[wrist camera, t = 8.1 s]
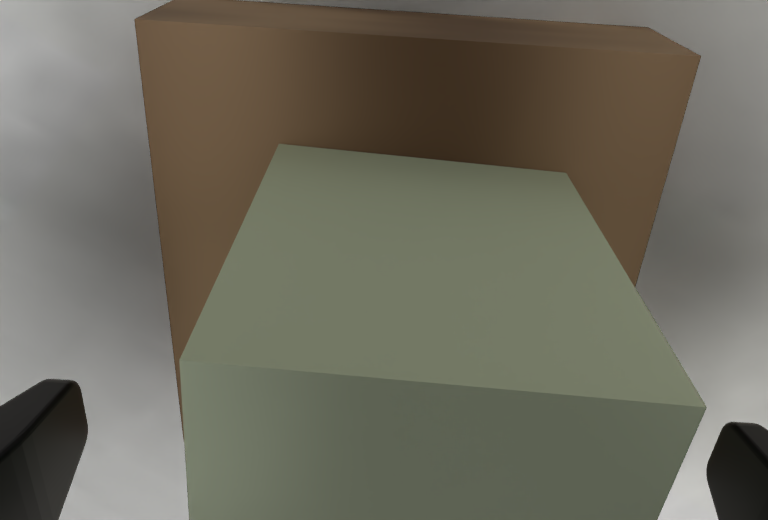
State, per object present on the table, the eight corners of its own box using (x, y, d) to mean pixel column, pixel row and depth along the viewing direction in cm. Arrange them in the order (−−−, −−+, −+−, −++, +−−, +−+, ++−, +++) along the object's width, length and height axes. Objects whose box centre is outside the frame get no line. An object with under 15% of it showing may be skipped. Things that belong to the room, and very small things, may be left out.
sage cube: (273, 372, 14) (198, 667, 9) (279, 143, 11) (179, 360, 6) (510, 393, 14) (579, 695, 9) (566, 172, 12) (705, 407, 6)
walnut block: (215, 358, 17) (183, 441, 15) (186, -7, 13) (134, 19, 10) (556, 378, 18) (584, 464, 15) (640, 23, 13) (701, 56, 11)
